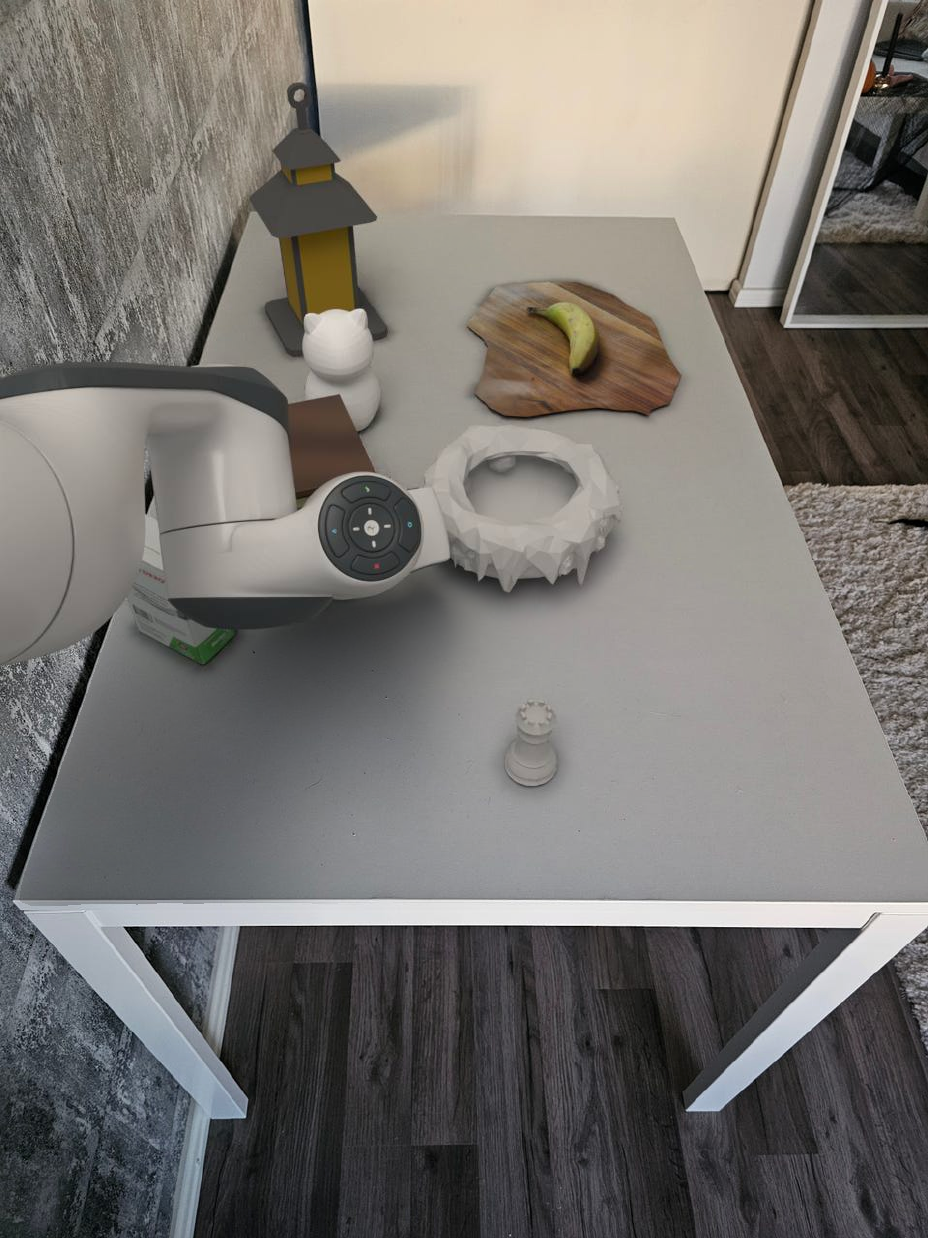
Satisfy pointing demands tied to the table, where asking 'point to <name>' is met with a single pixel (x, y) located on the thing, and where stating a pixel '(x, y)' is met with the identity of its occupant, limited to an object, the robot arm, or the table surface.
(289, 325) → the lantern
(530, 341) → the cutting board
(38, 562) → the robot arm
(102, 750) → the table surface
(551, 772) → the rook chess piece
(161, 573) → the ink box
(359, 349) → the cat figurine
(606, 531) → the bowl
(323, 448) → the cabinet
